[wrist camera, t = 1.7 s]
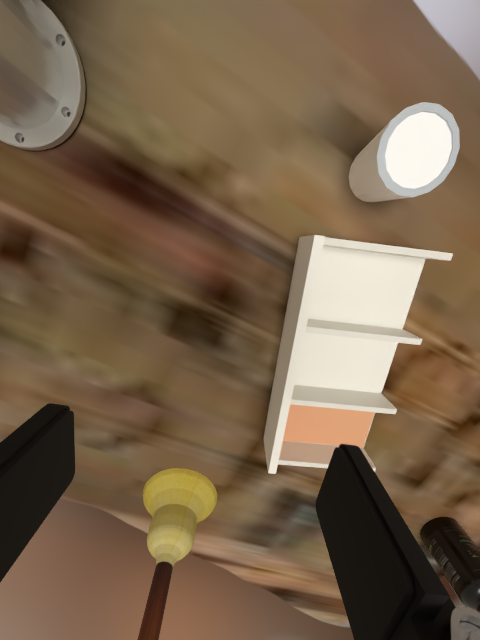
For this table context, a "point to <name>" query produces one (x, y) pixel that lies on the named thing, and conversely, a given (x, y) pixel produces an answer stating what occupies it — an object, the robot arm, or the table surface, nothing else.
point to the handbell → (172, 531)
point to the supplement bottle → (455, 558)
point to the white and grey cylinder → (407, 155)
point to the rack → (338, 346)
